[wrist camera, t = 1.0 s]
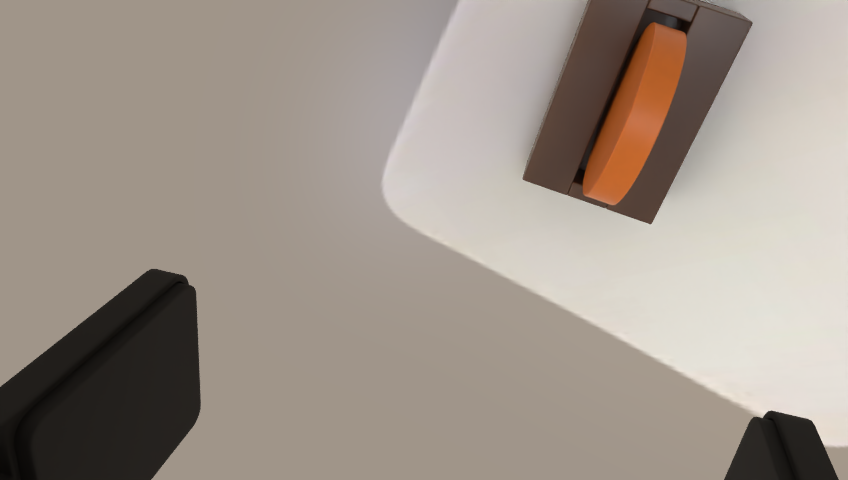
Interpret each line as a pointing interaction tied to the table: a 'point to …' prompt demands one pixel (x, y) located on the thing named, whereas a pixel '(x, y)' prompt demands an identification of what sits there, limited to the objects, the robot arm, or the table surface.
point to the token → (635, 113)
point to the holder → (597, 77)
